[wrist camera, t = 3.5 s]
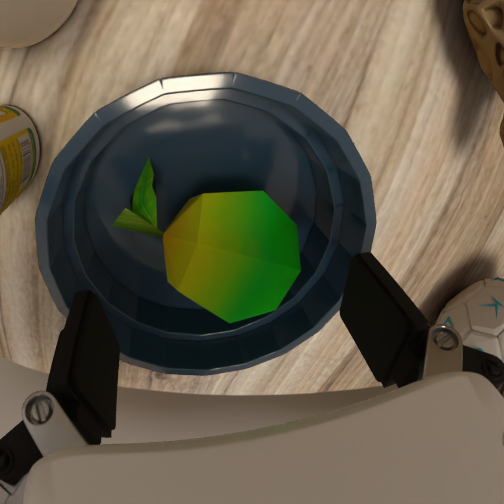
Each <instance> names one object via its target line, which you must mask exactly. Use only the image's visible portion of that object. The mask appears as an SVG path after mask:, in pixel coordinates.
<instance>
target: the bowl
mask: <svg viewBox="0 0 504 504" xmlns="http://www.w3.org/2000/svg"><path fill="white" fill-rule="evenodd" d="M148 158H150V162H151V166H152V170H153V174H154V178H155V181H156V211H157V229H159V230H160V231H162V232H165V231H166V230H167V228H168V227H169V225H170V224H171V223H172V221H173V220H174V219H175V217H176V216H177V215H178V213H179V212H180V210H181V209H182V208H183V206H184V205H185V204H186V202H187V201H188V200H189V199H190V198H193V197H195V196H198V195H201V194H205V193H222V192H243V191H264V192H265V193H266V194H267V195H268V196H269V197H270V198H271V199H272V200H273V201H274V202H275V203H276V204H277V205H278V206H279V207H280V208H281V209H282V210H283V211H284V212H285V213H286V214H287V216H288V217H289V218H290V219H291V220H292V221H293V222H294V223H295V224H296V225H297V232H298V242H299V254H300V265H301V271H300V273H299V275H298V276H297V278H296V279H295V281H294V282H293V284H292V286H291V287H290V289H289V290H288V292H287V293H286V295H285V297H284V298H283V300H282V301H281V303H280V304H279V306H278V307H277V309H276V310H274V311H271V312H268V313H264V314H261V315H257V316H254V317H251V318H247V319H244V320H240V321H236V322H233V323H228V322H226V321H225V320H223V319H221V318H220V317H218V316H217V315H215V314H213V313H212V312H210V311H208V310H207V309H205V308H204V307H202V306H200V305H199V304H197V303H196V302H194V301H193V300H191V299H189V298H188V297H186V296H185V295H183V294H182V293H180V292H179V291H177V290H176V289H175V288H174V287H173V286H172V285H171V284H170V283H168V281H167V273H166V264H165V255H164V246H163V238H160V237H156V236H152V235H147V234H143V233H139V232H135V231H130V230H126V229H122V228H118V227H114V226H112V224H113V223H114V222H115V220H116V219H117V218H118V217H119V215H120V214H121V213H122V212H123V210H124V209H125V208H126V209H128V210H129V211H131V204H130V199H131V197H132V195H133V192H134V190H135V188H136V185H137V183H138V181H139V178H140V176H141V174H142V171H143V169H144V167H145V165H146V163H147V160H148ZM376 224H377V223H376V212H375V203H374V195H373V188H372V181H371V177H370V173H369V171H368V169H367V168H366V166H365V164H364V162H363V160H362V158H361V156H360V154H359V152H358V151H357V149H356V147H355V145H354V143H353V141H352V140H351V138H350V136H349V134H348V133H347V131H346V130H345V129H344V128H343V127H342V126H341V125H340V124H339V123H337V122H336V121H335V120H334V119H333V118H332V117H330V116H329V115H328V114H327V113H326V112H324V111H323V110H322V109H321V108H319V107H318V106H317V105H316V104H314V103H313V102H312V101H311V100H309V99H308V98H307V97H306V96H304V95H303V94H302V93H299V92H298V91H295V90H292V89H289V88H287V87H284V86H281V85H277V84H274V83H271V82H268V81H265V80H261V79H258V78H255V77H251V76H248V75H244V74H240V73H237V72H220V73H205V74H193V75H183V76H174V77H166V78H161V79H157V80H155V81H153V82H151V83H149V84H147V85H145V86H142V87H140V88H138V89H136V90H134V91H132V92H130V93H128V94H126V95H125V96H123V97H121V98H119V99H117V100H115V101H113V102H111V103H110V104H108V105H106V106H104V107H102V108H101V109H99V110H97V111H96V112H95V113H93V115H92V116H91V117H90V118H89V119H88V120H87V121H86V122H85V123H84V124H83V126H82V127H81V128H80V129H79V130H78V131H77V132H76V134H75V135H74V136H73V137H72V138H71V140H70V141H69V142H68V143H67V144H66V146H65V147H64V148H63V149H62V151H61V152H60V153H59V154H58V156H57V157H56V158H55V159H54V161H53V163H52V165H51V168H50V171H49V173H48V176H47V179H46V182H45V185H44V188H43V191H42V195H41V198H40V201H39V205H38V208H37V212H36V217H35V227H36V243H37V255H38V264H39V270H40V272H41V274H42V276H43V279H44V281H45V283H46V285H47V288H48V290H49V292H50V294H51V296H52V298H53V300H54V302H55V304H56V306H57V308H58V309H59V311H60V312H61V313H62V314H63V315H64V317H65V318H66V319H67V317H68V314H69V310H70V307H71V304H72V301H73V298H74V295H75V293H76V292H77V291H85V290H91V291H92V292H93V294H95V293H96V294H97V295H98V297H99V299H100V302H101V304H102V307H103V309H104V311H105V314H106V316H107V318H108V321H109V323H110V325H111V327H112V330H113V332H114V334H115V336H116V338H117V341H118V343H119V346H120V359H119V360H121V361H123V362H125V363H128V364H132V365H135V366H138V367H142V368H145V369H149V370H153V371H156V372H160V373H165V374H178V375H200V376H205V375H213V374H219V373H226V372H232V371H237V370H243V369H247V368H250V367H253V366H255V365H258V364H261V363H263V362H266V361H268V360H271V359H273V358H276V357H278V356H281V355H283V354H286V353H287V352H289V351H290V350H292V349H293V348H295V347H296V346H298V345H299V344H301V343H302V342H304V341H305V340H307V339H308V338H310V337H311V336H313V335H314V334H316V333H317V332H319V331H320V330H321V329H322V328H323V327H324V326H325V324H326V323H327V322H328V321H329V320H330V319H331V318H332V317H333V316H334V315H335V314H336V313H337V312H338V311H339V310H340V306H341V302H342V297H343V293H344V288H345V283H346V279H347V274H348V269H349V264H350V260H351V259H352V258H354V255H355V254H358V253H364V252H371V248H372V243H373V238H374V234H375V229H376Z"/></svg>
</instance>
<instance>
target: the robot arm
mask: <svg viewBox="0 0 504 504" xmlns="http://www.w3.org/2000/svg"><path fill="white" fill-rule="evenodd" d="M340 316H341V319H342V320H343V322H344V324H345V326H346V327H347V329H348V331H349V332H350V334H351V336H352V338H353V339H354V341H355V343H356V345H357V346H358V348H359V350H360V352H361V354H362V355H363V357H364V359H365V361H366V362H367V364H368V366H369V368H370V370H371V371H372V373H373V375H374V377H375V379H376V380H377V381H378V382H381V383H382V385H383V387H384V388H385V387H388V386H391V385H393V384H397V386H398V389H395V390H393V391H390V392H387V393H384V394H382V395H379V396H376V397H373V398H370V399H367V400H365V401H362V402H359V403H356V404H352V405H349V406H346V407H343V408H340V409H337V410H333V411H330V412H327V413H323V414H319V415H316V416H312V417H308V418H304V419H301V420H296V421H292V422H288V423H283V424H279V425H274V426H270V427H266V428H260V429H255V430H249V431H244V432H238V433H233V434H226V435H219V436H212V437H204V438H196V439H187V440H178V441H164V442H150V443H131V444H104V445H100V443H101V437H105V438H109V437H111V430H114V429H115V427H116V402H117V400H116V399H117V384H118V370H119V359H120V346H119V343H118V341H117V338H116V336H115V334H114V332H113V330H112V327H111V325H110V323H109V321H108V318H107V316H106V314H105V311H104V309H103V307H102V304H101V302H100V299H99V297H98V295H97V294H96V293H95V294H93V292H92V291H91V290H85V291H77V292H76V293H75V295H74V298H73V301H72V304H71V307H70V310H69V314H68V317H67V320H66V324H65V327H64V329H63V330H62V331H61V332H60V335H59V338H58V342H57V346H56V349H55V353H54V357H53V361H52V365H51V369H50V374H49V378H48V383H47V388H46V391H37V392H35V393H32V394H31V395H30V396H28V397H27V399H26V400H25V402H24V403H23V407H22V417H23V420H22V421H21V422H20V423H19V424H18V425H17V426H15V427H14V428H13V429H12V430H11V431H10V432H8V433H7V434H6V435H5V436H4V437H3V438H2V439H0V504H504V363H503V362H502V360H501V359H499V358H498V357H497V356H495V355H492V354H489V353H486V352H483V351H480V350H477V349H474V348H471V347H468V346H465V345H463V342H462V338H461V336H460V334H459V333H458V332H457V331H456V330H455V329H454V328H452V327H451V326H448V325H446V324H436V325H434V326H432V327H431V328H430V327H429V325H428V323H429V322H428V321H427V319H426V318H425V317H424V315H423V314H422V313H421V312H420V310H419V309H418V308H417V307H416V305H415V304H414V303H413V302H412V300H411V299H410V298H409V297H408V296H407V294H406V293H405V292H404V291H403V289H402V288H401V287H400V286H399V285H398V283H397V282H396V281H395V280H394V279H393V278H392V276H391V275H390V274H389V273H388V272H387V270H386V269H385V268H384V267H383V266H382V265H381V264H380V262H379V261H378V260H377V259H376V258H375V257H374V256H373V254H372V253H370V252H364V253H358V254H355V255H354V258H352V259H351V260H350V264H349V269H348V274H347V279H346V283H345V288H344V293H343V297H342V302H341V306H340Z"/></svg>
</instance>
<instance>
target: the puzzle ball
mask: <svg viewBox="0 0 504 504" xmlns="http://www.w3.org/2000/svg"><path fill="white" fill-rule="evenodd" d="M436 324H446V325H448V326H451V327H452V328H454V329H455V330H456V331H457V332H458V333H459V334H460V336H461V338H462V342H463V345H465V346H468V347H471V348H474V349H477V350H480V351H483V352H486V353H489V354H492V355H495V356H497V357H498V358H499V359H501V360H502V362H503V363H504V279H502V278H499V277H498V278H495V279H485V280H482V281H478V282H476V283H474V284H472V285H470V286H469V287H467V288H465V289H463V290H462V291H461V292H460V293H458V294H457V295H456V296H455V297H453V298H452V299H451V300H450V301H449V302H447V304H446V306H445V308H443V309H442V311H441V313H440V315H439V317H438V319H437V322H436ZM436 324H435V325H436Z"/></svg>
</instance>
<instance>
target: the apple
mask: <svg viewBox="0 0 504 504" xmlns="http://www.w3.org/2000/svg"><path fill="white" fill-rule="evenodd" d="M130 204H131V211H129V210H128V209H126V208H125V209H124V210H123V212H122V213H121V214H120V215H119V217H118V218H117V219H116V220H115V222H114V223H113V224H112V226H114V227H118V228H122V229H126V230H130V231H135V232H139V233H143V234H147V235H152V236H156V237H160V238H163V246H164V255H165V264H166V273H167V281H168V283H170V284H171V285H172V286H173V287H174V288H175V289H176V290H177V291H179V292H180V293H182V294H183V295H185V296H186V297H188V298H189V299H191V300H193V301H194V302H196V303H197V304H199V305H200V306H202V307H204V308H205V309H207V310H208V311H210V312H212V313H213V314H215V315H217V316H218V317H220V318H221V319H223V320H225V321H226V322H228V323H233V322H236V321H240V320H244V319H247V318H251V317H254V316H257V315H261V314H264V313H268V312H271V311H274V310H276V309H277V307H278V306H279V304H280V303H281V301H282V300H283V298H284V297H285V295H286V293H287V292H288V290H289V289H290V287H291V286H292V284H293V282H294V281H295V279H296V278H297V276H298V275H299V273H300V271H301V265H300V254H299V242H298V232H297V225H296V224H295V223H294V222H293V221H292V220H291V219H290V218H289V217H288V216H287V214H286V213H285V212H284V211H283V210H282V209H281V208H280V207H279V206H278V205H277V204H276V203H275V202H274V201H273V200H272V199H271V198H270V197H269V196H268V195H267V194H266V193H265V192H264V191H243V192H222V193H205V194H201V195H198V196H195V197H193V198H190V199H189V200H188V201H187V202H186V204H185V205H184V206H183V208H182V209H181V210H180V212H179V213H178V215H177V216H176V217H175V219H174V220H173V221H172V223H171V224H170V225H169V227H168V228H167V230H166V231H165V232H162V231H160V230H159V229H157V211H156V181H155V178H154V174H153V170H152V166H151V162H150V158H148V160H147V163H146V165H145V167H144V169H143V171H142V174H141V176H140V178H139V181H138V183H137V185H136V188H135V190H134V192H133V195H132V197H131V199H130Z"/></svg>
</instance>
